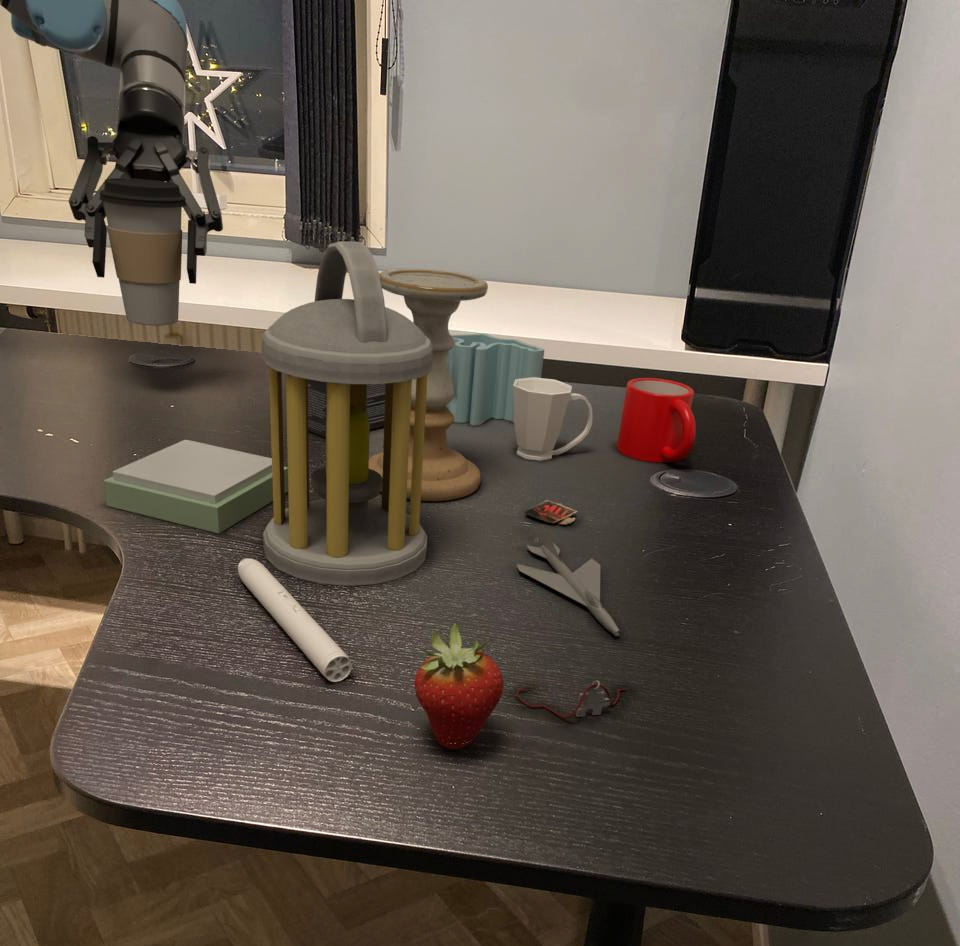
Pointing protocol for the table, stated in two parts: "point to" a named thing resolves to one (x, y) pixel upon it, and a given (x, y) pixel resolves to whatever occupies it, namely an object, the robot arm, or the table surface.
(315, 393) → the small box
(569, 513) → the matchbox
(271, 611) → the white cylindrical rod
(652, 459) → the mug
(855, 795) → the table surface
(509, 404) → the squiggly pen holder
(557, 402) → the cup
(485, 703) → the fruit
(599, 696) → the pendant
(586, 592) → the toy airplane
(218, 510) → the scale
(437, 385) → the candle holder
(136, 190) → the coffee cup
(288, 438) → the lantern
